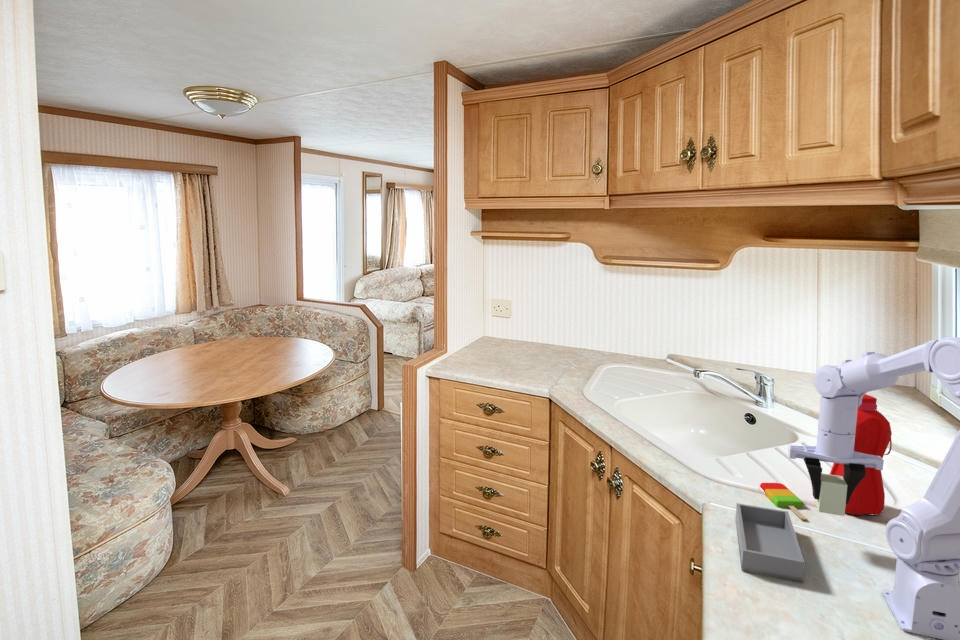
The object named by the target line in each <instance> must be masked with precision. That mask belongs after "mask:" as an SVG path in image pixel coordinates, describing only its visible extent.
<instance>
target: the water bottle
mask: <svg viewBox="0 0 960 640" xmlns="http://www.w3.org/2000/svg"><path fill="white" fill-rule="evenodd" d="M877 400H878V399H877V398H876V397H875V396H872V395H870V394H867V393H866V394H865V395H864V396H863V398H862V404H860V406H859V407H858V411H857V422H856V432H855V443H854V451H855V452H859V453H864V454H869V455H874V456H880V457H881V458H882V459H883V458H884V457H885V456H888V455H890V453H891V450H892V447H893V446H892V445H893V444H892V442H893V441H892V435H893V433H892V427H891V422H889V420H888V419H887V418H886V417H885V415H883V414H882V413H881V412H880V411H879V410H878V405H877ZM888 446H889V450H888V452H887V453H886V451H887V449H888ZM865 470H866V475H865V477H864V478H863V479H862V480H861V481H860V482H859V484H858V485H857V486H856V488H855V489H854V491H853V493H852V495H851V497H850V500H849V503H848V504H846V506H845V514H849V515H853V516H855V515H858V516H859V515H860V516H864V515H863V514H879V515H881V514H882V513H883V511H884V509H885V498H886V496H885V494H886V493H885V489H884V488H885V486H884V481H883V475H882V470H876V469H875V468H871V467H865ZM829 474H830V475H837V476H842V477H843V478H844V464H840V463H832V466H831V469H830V473H829ZM880 513H881V514H880Z"/></svg>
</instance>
